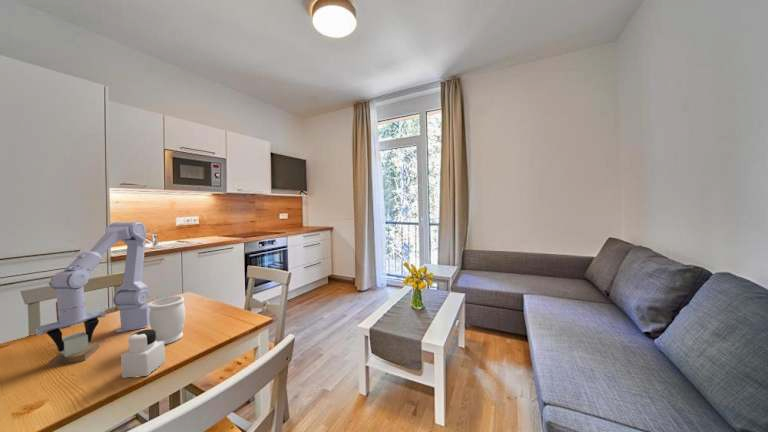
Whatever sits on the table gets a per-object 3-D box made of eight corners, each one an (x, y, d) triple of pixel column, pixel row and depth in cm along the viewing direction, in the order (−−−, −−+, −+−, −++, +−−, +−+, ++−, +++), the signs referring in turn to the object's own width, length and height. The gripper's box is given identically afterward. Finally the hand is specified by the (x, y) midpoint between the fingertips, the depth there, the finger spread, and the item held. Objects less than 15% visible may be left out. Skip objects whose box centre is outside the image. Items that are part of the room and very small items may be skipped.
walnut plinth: (99, 347, 91) (98, 342, 91) (85, 360, 83) (84, 354, 83) (67, 353, 87) (66, 348, 87) (49, 367, 80) (48, 361, 80)
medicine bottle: (142, 363, 82) (139, 327, 81) (165, 361, 82) (163, 326, 82) (121, 378, 75) (118, 339, 74) (147, 377, 75) (144, 338, 75)
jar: (189, 338, 96) (187, 300, 95) (152, 350, 89) (149, 309, 88) (183, 329, 103) (181, 293, 103) (149, 339, 96) (147, 300, 95)
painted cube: (83, 345, 89) (82, 331, 88) (88, 349, 86) (87, 334, 86) (61, 352, 84) (59, 338, 84) (65, 357, 82) (64, 342, 82)
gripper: (98, 297, 93) (101, 332, 93) (31, 312, 80) (35, 354, 81) (106, 300, 89) (109, 337, 90) (37, 317, 76) (41, 360, 77)
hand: (75, 345), depth 85 cm, fingers open, 5 cm apart
